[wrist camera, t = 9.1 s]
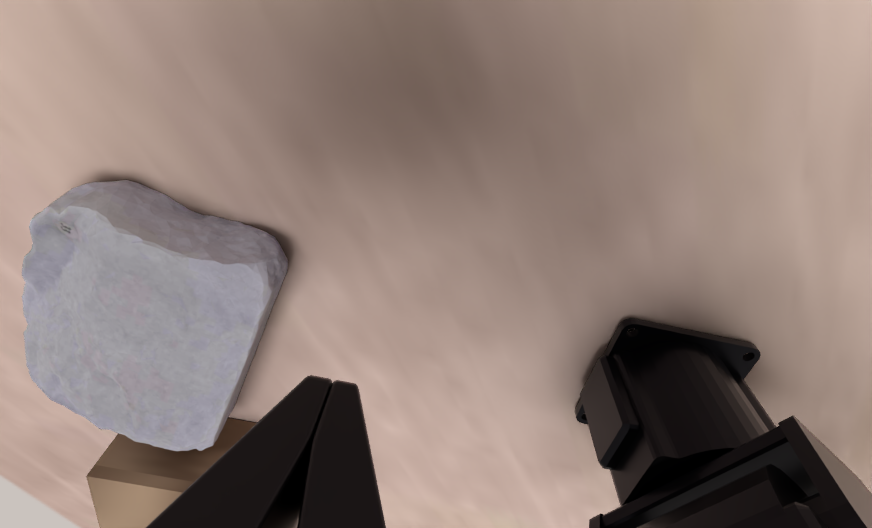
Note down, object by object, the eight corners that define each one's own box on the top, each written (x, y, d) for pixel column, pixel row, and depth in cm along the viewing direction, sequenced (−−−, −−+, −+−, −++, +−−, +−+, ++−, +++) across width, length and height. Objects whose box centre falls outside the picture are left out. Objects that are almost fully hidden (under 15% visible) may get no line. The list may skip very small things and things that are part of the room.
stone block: (87, 330, 26) (248, 418, 26) (-4, 385, 22) (189, 490, 22) (115, 132, 21) (317, 243, 21) (3, 154, 17) (257, 292, 17)
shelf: (289, 429, 27) (260, 506, 23) (279, 545, 33) (255, 622, 29) (142, 401, 26) (86, 476, 22) (160, 525, 32) (118, 600, 28)
